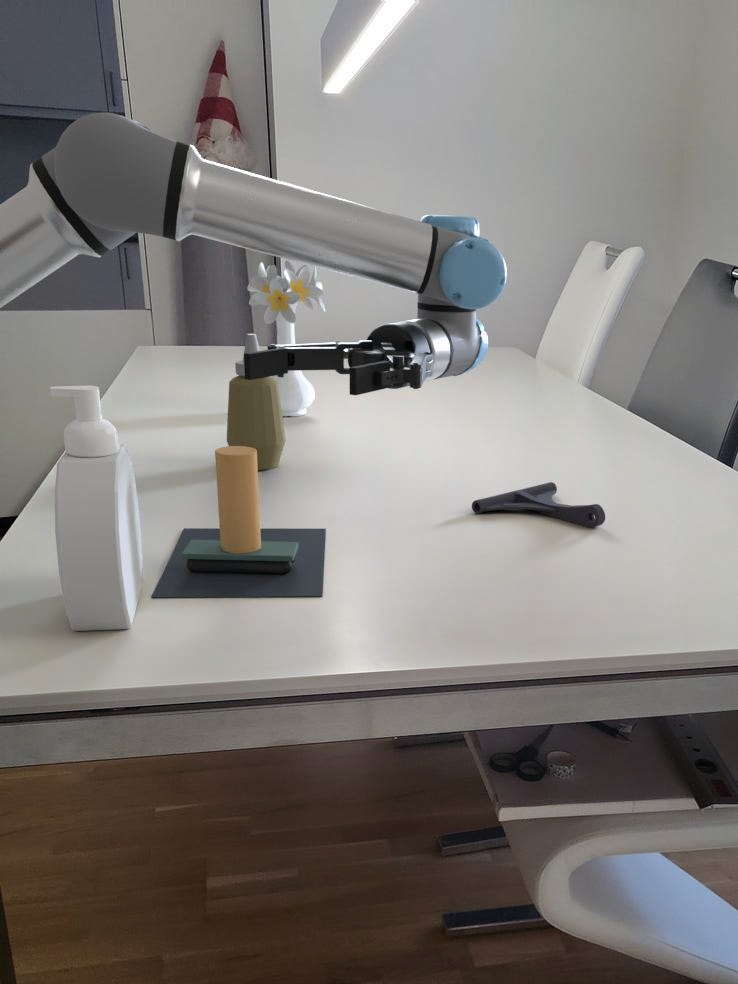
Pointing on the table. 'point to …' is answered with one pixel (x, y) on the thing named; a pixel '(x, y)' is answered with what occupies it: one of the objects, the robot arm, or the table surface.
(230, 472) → the wiper
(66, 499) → the soap bottle
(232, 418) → the squeeze bottle
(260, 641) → the table surface
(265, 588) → the wipe mat
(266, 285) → the flower vase
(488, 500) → the bracket
